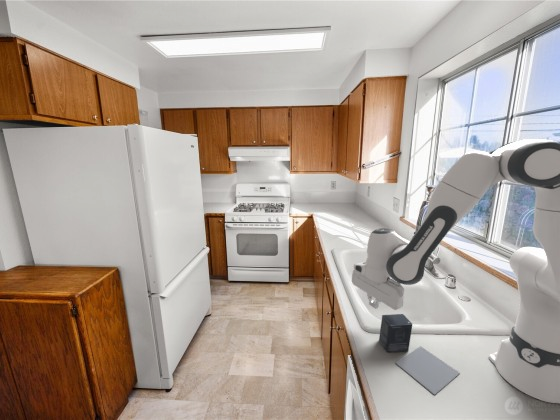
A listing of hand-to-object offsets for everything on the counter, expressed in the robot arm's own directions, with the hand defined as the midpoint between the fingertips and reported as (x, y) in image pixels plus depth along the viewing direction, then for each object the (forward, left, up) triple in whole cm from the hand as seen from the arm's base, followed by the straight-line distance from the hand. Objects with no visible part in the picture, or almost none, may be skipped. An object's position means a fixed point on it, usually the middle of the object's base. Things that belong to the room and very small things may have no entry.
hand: (373, 306), depth 90 cm
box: (0, +10, -10) cm, 14 cm away
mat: (-1, +21, -9) cm, 23 cm away
